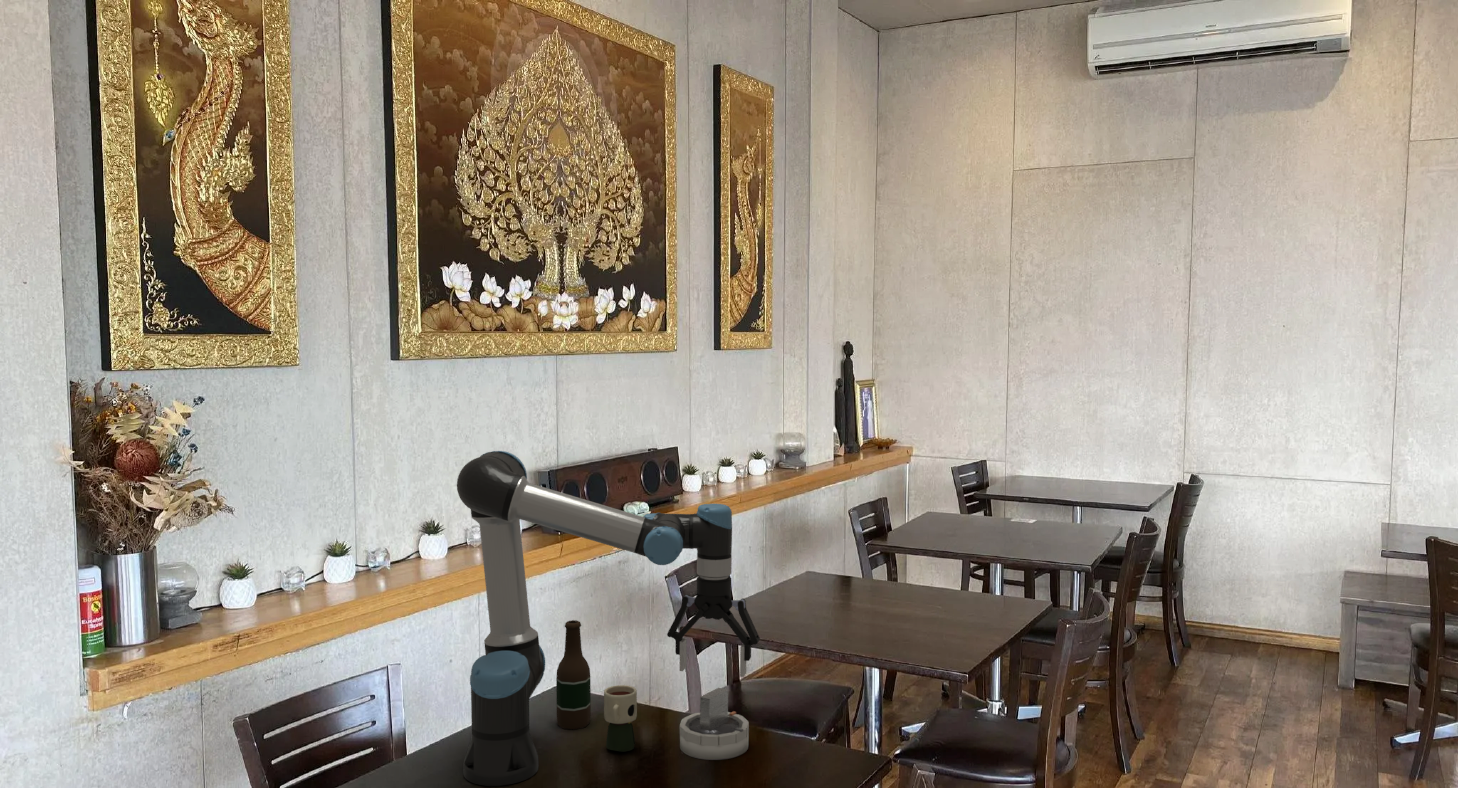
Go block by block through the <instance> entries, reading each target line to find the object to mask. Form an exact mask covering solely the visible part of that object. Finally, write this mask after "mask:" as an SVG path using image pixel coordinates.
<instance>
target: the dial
mask: <svg viewBox="0 0 1458 788" xmlns="http://www.w3.org/2000/svg"><path fill="white" fill-rule="evenodd" d="M699 704H700V705H699V710H700V712H699V713H700V717H699V718H696V719H694V720H692V721H691V722H690V723H689V729H690V730H691V731H694V732H697V733H701V734H713V735H720V734H726V733H732V732H734V731H736V730H735V728H737V727H738V728H739V722H738V721H737V720H735V719H733V718H730V717H729V716H728V712H729V689H727V688H722V687H717V688H714V689H713V690H711V691H710V692H707V693H704V694H703V695H701V696H700V697H699Z"/></svg>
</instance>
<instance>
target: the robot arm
mask: <svg viewBox="0 0 1458 788" xmlns="http://www.w3.org/2000/svg"><path fill="white" fill-rule="evenodd" d="M456 491H457V494H458V496H459V499H460V501H461V502H462V504H464V505H465V506H466V508H468V509H470V515H471V519H473V520H474V521H475V522H476V523H477V524H478V525H479V532H480V542H481V552H482V561H483V573H484V581H485V589H486V591H485V592H486V600H487V610H488V620H489V621H488V622H489V629H490V632H489V634H488V635H487V636H486V638H485V639H484V641H483V644H484V652H485V655H482V656H480V657H478V658H477V659H476V660H475V661H474V662H473V663H472V666H471V670H470V675H469V681H470V682H469V684H470V700H471V702H470V704H471V705H470V706H471V707H470V708H471V709H470V710H471V711H470V712H471V713H470V714H471V738H470V741H469V744H468V748H467V751H466V754H465V757H464V760H463V765H462V767H463V777H464V778H465V780H466V781H468V782H470V783H472V784H475V785H479V786H484V787H501V786H508V785H512V784H518V783H520V782H523V781H526V780H528V779H530V778H532V777H533V776H534V775H535V774H537V772H538V771H539V754H538V752H537V749H536V746H535V743H534V741H533V737H532V735H531V732H530V731H531V730H530V699H531V697H532V695H533V693H535V690H536V689H537V687H538V686H539V684H540V683H541V682H542V680H543V678H544V674H545V673H544V672H545V670H546V657H545V653H544V649H542V647H541V645H540V639H539V632H538V631H537V630H536V629H534V628H533V627H532V626H531V621H530V612H529V601H528V591H527V580H526V571H525V570H526V569H525V559H524V552H523V551H524V550H523V540H522V531H521V522H520V521H525V522H528V523H532V524H536V525H539V526H543V527H545V528H549V529H552V530H556V531H558V532H559V531H560V532H562V533H566V534H570V535H573V536H576V537H580V538H583V539H586V540H589V541H593V542H597V543H599V544H603V545H607V546H610V547H613V548H616V549H621V550H622V551H627V552H629V553H634V554H637V555H639V556H643V557H646V559H648V560H649V561H650V563H652V564H655V565H658V566H667V565H670V564H671V563H673V562H675V561H676V560H677V559H678V557H680V554H681V553H682V551H683V549H686V550H687V549H690V550H691V549H692V550H693V549H696V551H697V552H696V574H697V575H698V576H697V577H696V596H691V595H690V594H688V593H687V594H685V595H683V597H682V599H681V604H680V605H681V606H680V608H679V610H678V612H677V614H676V615H675V618H674V620H673V622H672V624H671V625H670V627H669V629H668V631H667V633H666V635H667V637H668V638H672V639H674V641H675V647H674V649H675V655H679V672H684V671H685V669H686V668H687V637H686V638H684V636H685V635H686V634H687V633H688V632H689V631H690V630H691V628H692V627H693V626H694V625H695V624H696V623H697V622H698V621H699V619H701V617H703V618H704V619H707V620H711V619H713V620H715V621H716V620H717V621H720V620H721V619H723V621H724V622H725V623H726V624H727V625H728V626H729V627H730V629H731V630H732V631H733V633H734V634H735V635H736V637H737V638H738V639H739V640H740V642H741V643H742V644H741V646H740V651H739V652H740V655H739V656H740V657H739V659H740V663H739V664H740V665H739V666H740V667H739V677H740V678H741V677H742V678H744V677H745V675H746V674H747V662H749V661H750V660H751V658H752V646H753V645H758V643H759V642H760V640H761V638H760V635H759V633H758V631H757V629H756V627H755V625H754V623H753V621H752V618H751V616H750V614H749V611H748V610H747V601H746V599H745V598H741V599H737V600H735V599H734V600H733V598H732V578H731V576H730V575H732V559H733V558H732V557H733V556H732V554H733V553H732V548H733V547H732V545H733V518H732V517H733V515H732V514H733V511H732V509H731V507H730V506H728V505H727V504H723V503H703V504H700V505H699V506H698V507H697V511H696V513H663V512H662V513H661V512H656V513H646V514H644V515H643V516H642V515H638V514H634V513H632V512H628V511H624V510H621V509H618V508H614V507H611V506H607V505H604V504H601V503H598V502H594V501H591V500H589V499H584V498H581V497H577V496H574V495H571V494H568V493H564V492H560V491H558V490H554V489H551V488H547V487H544V486H541V485H537V484H533V483H531V482H529V481H528V473H527V470H526V467H525V465H524V463H523V461H522V460H521V459H520V458H519V457H517V456H516V455H515V454H513V453H511V452H509V451H504V450H493V451H486V452H485V453H483V454H481V455H480V456H478V457H476V458H474V459H471V460H470V461H469V462H467V463H466V464H465V465H464V466H463V467H462V469H460V471H459V473H458V476H457V480H456ZM693 604H694V605H695V607H696V608H697V610H698V611H697V612H696V613H695V614H694V615H693V616H692V618H691V619H689V621H688V622H687V623H686V624H685V625H684V626H683V627H682V628H681V630H680V631H677V630H678V629H679V627H680V625H681V622H682V621H683V619H684V617H685V615H686V613H687V611H688V609H689V607H692V605H693ZM733 607H734V609H735V610H736V611H737V612H738V613H739V614H738V615H739V616H740V620H741V621H742V623H743V627H744V628H745V629H746V630H744V628H743V627H742V626H741V624H740V623H739V622H738V620H737V619H736V618H735V617H734V614H733V612H732V611H731V608H733Z"/></svg>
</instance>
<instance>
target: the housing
mask: <svg viewBox="0 0 1458 788" xmlns="http://www.w3.org/2000/svg"><path fill="white" fill-rule="evenodd" d="M728 716H729V717H730V718H733V719H735V720H737V721H738V722H739V728H738V727H737V728H735V730H736V731H734V732H732V733H726V734H720V735H713V734H701V733H697V732H694V731H691V730H690V729H689V723H690V722H691V721H692V720H694V719H696V718H699V717H700V712H695V713H692V714H690V715H687V716H685V717H683V718H682V719H681V721H680V724H679V748H680V750H681V752H683V754H685V755H687V756H688V757H692V758H695V759H700V760H707V761H709V760H710V761H721V760H728V759H733V758H736V757H739V756H741V755H744V754H745V753H746V752H747V750H748V749H749V736H750V735H749V733H750V728H749V727H750V723H749V720H747V719H746V718H745V717H744V716H743V715H741V714H737V711H734V710H733V711H732V712H730V711H728Z"/></svg>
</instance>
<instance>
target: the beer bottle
mask: <svg viewBox="0 0 1458 788" xmlns="http://www.w3.org/2000/svg"><path fill="white" fill-rule="evenodd" d="M581 627H582V623H581V621H579V620H577V619H575V620H574V619H573V620H567V621H566V622H565V623H564V628H565V641H564V653H563V654H564V655H563V657H562V659H561V661H560V662H559V664H558V666H557V669H556V680H555V681H556V683H555V684H556V689H555V691H556V724H557V725H558V726H559V727H560V728H561V729H563V730H572V729H573V730H579V729H583V728H586V727H588V725H589V724H590V723H591V719H592V718H591V716H592V715H591V714H592V713H591V712H592V710H591V707H592V705H591V702H592V700H591V699H592V698H591V688H592V687H591V669H590V666H589V663H588V661H587V660H586V658H585V657H584V655H583V650H582V637H581V636H582V635H581Z"/></svg>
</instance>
